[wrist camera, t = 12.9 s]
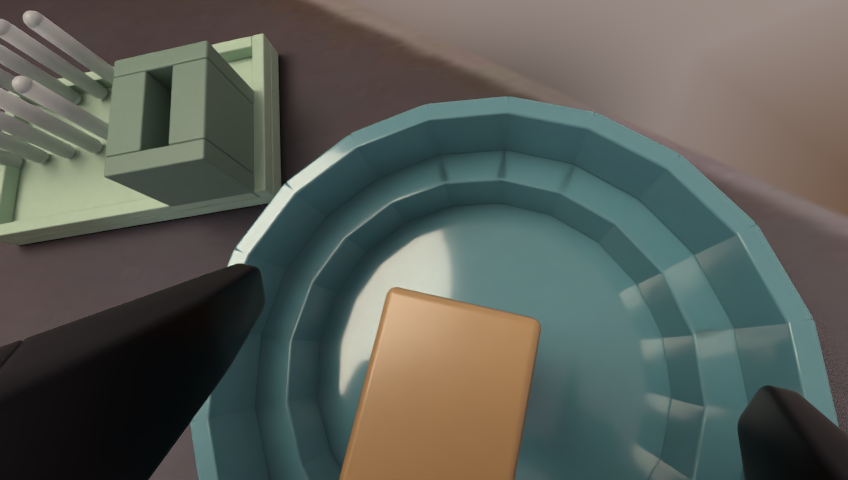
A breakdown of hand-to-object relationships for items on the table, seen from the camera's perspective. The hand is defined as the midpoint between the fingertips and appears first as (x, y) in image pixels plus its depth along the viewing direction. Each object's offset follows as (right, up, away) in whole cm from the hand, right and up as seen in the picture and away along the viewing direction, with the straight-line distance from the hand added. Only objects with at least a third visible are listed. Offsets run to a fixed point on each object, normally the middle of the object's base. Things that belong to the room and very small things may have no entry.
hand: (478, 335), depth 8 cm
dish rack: (-15, +6, +14) cm, 21 cm away
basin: (+1, -3, +9) cm, 9 cm away
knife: (+1, -3, +8) cm, 9 cm away
